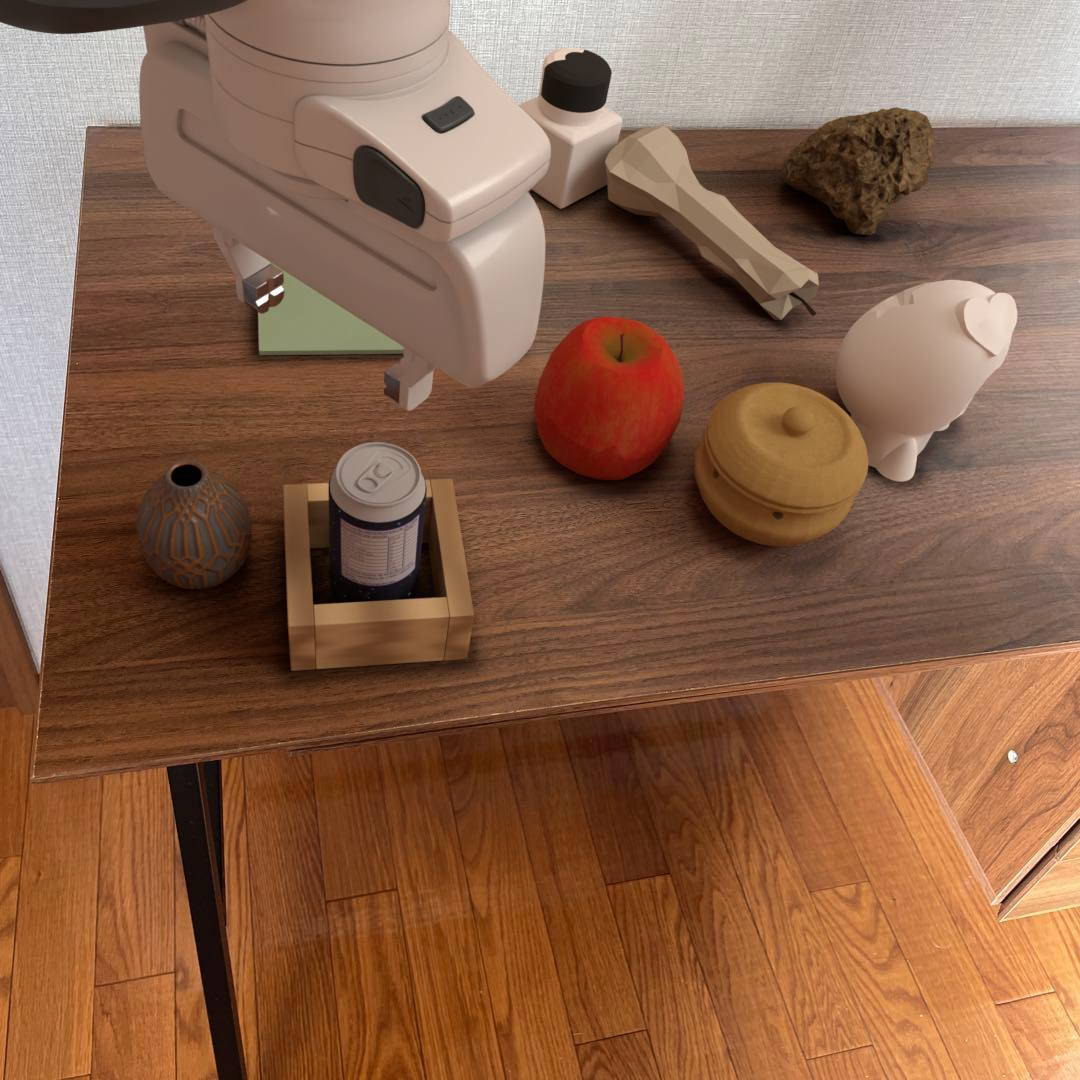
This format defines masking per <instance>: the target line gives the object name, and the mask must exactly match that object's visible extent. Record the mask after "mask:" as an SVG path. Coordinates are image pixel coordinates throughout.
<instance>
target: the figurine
mask: <svg viewBox="0 0 1080 1080" xmlns="http://www.w3.org/2000/svg"><path fill="white" fill-rule="evenodd" d="M1017 324H1018V308H1017V304H1016V301H1015V299H1014V298H1013V296H1012V295H1011V294H1009V293H1006V292H995V291H994V290H992V289H991V288H989V287H987V286H984V285H982V284H980V283H977V282H974V281H969V280H961V279H944V280H937V281H931V282H930V281H929V282H924V283H921V284H919V285H915V286H911V287H909V288H906V289H904V290H902V291H900V292H899V293H896V294H894V295H892V296H890V297H887V298H886V299H884V300H882V301H880V302H879V303H877V304H875V305H874V306H873V307H871V308H870V309H869V310H867V311H866V312H864V313H863V314H862V316H860V317H858V319H857V320H856V321H855V322H854V323H853V324H852V325H851V327H850V328H849V330H848V331H847V332H846V334H845V336H844V338H843V339H842V340H841V343H840V346H839V349H838V352H837V357H836V361H835V383H836V389H837V393H838V395H839V397H840V400H841V401H842V404H843V406H845V408H846V410H847V411H848V412H849V413H850V415H849V417H850V418H851V419H852V421H853V422H854V423H855V424H856V426H857V427H858V429H859V431H860V433H861V435H862V438H863V440H864V442H865V445H866V448H867V454H868V460H869V463H868V467H872V468H875V469H876V471H877V472H878V473H879V474H880V475H882V476H883V477H884V478H886V479H888V480H890V481H894V482H902V483H903V482H907V481H910V480H911V479H912V478H913V477H914V475H915V472H916V467H917V459H918V455H920V454H921V452H922V451H923V450H924V449H925V448H926V446H927V444H928V442H929V441H930V439H931V438H932V436H933V434H934V433H935V432H942V431H945V430H947V429H948V428H949V427H950V424H951V423H952V422H953V421H955V420H956V419H958V418H959V417H961V416H962V415H963V414H964V413H965V412H966V410H967V409H968V406H969V405H970V403H972V401H973V400H974V398H975V394H976V393H977V392H979V390H980V389H981V388H982V387H983V385H984V384H985V383H986V381H987V380H988V378H989V377H990V376H992V375H993V374H994V372H996V371H997V369H999V368H1001V367H1002V365H1003V363H1004V361H1005V360H1006V357H1007V356H1008V353H1009V350H1010V345H1011V342H1012V337H1013V333H1014V330H1015V328H1016V325H1017Z"/></svg>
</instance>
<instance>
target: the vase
mask: <svg viewBox="0 0 1080 1080" xmlns="http://www.w3.org/2000/svg"><path fill="white" fill-rule="evenodd" d="M250 513H251V512H250V510H249V507H248V504H247V503H246V501H245V499H244V497H243V495H242V494H241V492H240V491H239V489H237V487H236V486H235V485H234V483H232V481H230V480H229V479H228V478H226V477H225V476H223V475H221V474H220V473H218V472H216V471H213V470H211V469H208V468H207V467H206V466H205V465H203V464H202V463H201V462H199V461H196V460H193V459H183V460H178V461H176V462H174V463H172V464H171V465H169V467H168V468H167V469H166V471H165V473H164V474H163V475H162V476H161V477H159V478H157V479H156V480H155V481H154V482H153V483H152V484H151V485H150V486H149V487H148V489H147V490H146V492H145V493H144V495H143V496H142V499H141V501H140V504H139V507H138V510H137V516H136V521H135V522H136V524H135V525H136V527H135V529H136V530H135V531H136V539H137V542H138V545H139V548H140V551H141V553H142V556H143V558H144V560H145V561H146V562H147V564H148V566H149V567H150V568H151V570H153V572H154V573H155V574H156V575H157V576H158V577H160V578H161V579H163V580H164V581H165V582H167V583H169V584H170V585H172V586H175V587H179V588H183V589H188V590H189V589H190V590H203V589H209V588H213V587H215V586H218V585H220V584H222V583H224V582H226V581H227V580H228V579H230V578H232V577H233V576H234V575H235V574H236V573H237V572H238V571H239V570H240V568H241V567H242V566H243V564H244V562H245V560H246V559H247V556H248V554H249V551H250V547H251V543H252V532H253V527H252V519H251V518H252V517H251V514H250Z"/></svg>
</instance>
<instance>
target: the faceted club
mask: <svg viewBox="0 0 1080 1080" xmlns="http://www.w3.org/2000/svg"><path fill="white" fill-rule="evenodd" d="M605 165H606V172H607V182H608V185H607V200H608V201H609V202H611V203H613V204H615V205H616V206H618V207H619V208H621V209H623V210H625V211H627V212H629V213H631V214H634V215H637V216H647V217H648V216H649V217H659V218H664V219H666V220H667V221H668V222H669V223H670V224H671V225H672V226H674V227H675V228H676V229H677V230H678V231H680V232H681V233H682V234H683V235H684V236H685V237H686V238H688V239H689V240H690V241H691V242H692V243H693V244H695V245H696V246H697V248H698V251H699V253H700V255H701V257H702V258H704V259H705V260H707V262H710V263H711V264H712V265H714V266H715V267H717V268H719V269H720V270H721V271H723V272H725V274H727V275H729V276H730V277H732V278H733V279H735V280H736V281H737V282H738V283H739V284H740V286H742V287H743V288H744V290H745V291H746V292H748V293H749V295H750V296H751V297H752V298H753V299H754V300H755V301H756V303H758V304H759V305H760V306H761V307H762V309H764V311H765V312H766V313H767V314H768V315H769V316H770V317H771V318H772V319H773V320H774V321H775V320H776V321H780V320H783V319H784V318H785V316H786V315H788V314H789V312H790V311H791V310H793V308H795V307H797V306H799V305H801V304H803V306H804V307H805V308H806V310H807V311H808V312H809V314H810V315H811V317H814V316H815V315H817V313H816V311H815V310H814V309H813V307H811V306H810V304H808V303H807V302H809V301H810V300H813V299H815V298H816V296H817V293H818V290H819V286H820V283H819V275H818V272H816V271H813V270H812V269H810V268H808V267H807V266H805V265H804V264H802V263H800V261H798V260H796V259H795V258H793V257H791V256H790V255H788V254H787V253H785V252H784V251H783V250H780V249H779V248H777V247H776V246H775V245H773V244H772V243H771V242H770V241H769V240H768V239H767V237H765V236H764V235H763V234H762V233H761V232H760V231H759V230H758V229H757V228H755V227H754V225H753V224H752V223H751V222H750V221H748V220H747V219H746V218H745V217H744V216H743V215H742V214H741V213H740V212H739V211H738V210H737V209H736V208H735V207H734V205H733V204H732V203H731V202H730V201H729V200H728V199H727V197H726V196H725V195H722V194H719V193H716V192H713V191H710V190H708V189H706V188H705V187H704V186H703V185H701V184H700V182H699V180H698V178H697V177H696V175H695V174H694V173H695V172H694V171H693V170H692V167H691V164H690V159H689V156H688V152H687V149H686V148H685V146H684V145H683V143H682V142H681V139H680V138H679V137H678V136H677V135H676V134H675V133H674V132H673V131H672V130H670V128H668V127H667V126H666V125H665V124H662V125H655V126H649V127H643V128H641V129H639V130H637V131H636V132H634V133H632V134H630V135H628V136H626V137H625V138H624V139H622V140H621V141H619V142H618V144H617V145H616V146H615V147H614V148H613V149H612V150H611V151H610V152H609V154H608V156H607V158H606V161H605Z"/></svg>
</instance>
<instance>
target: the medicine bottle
mask: <svg viewBox="0 0 1080 1080" xmlns="http://www.w3.org/2000/svg"><path fill="white" fill-rule="evenodd" d="M612 74H613V73H612V68H611V67H610V65H609V63H608V61H607V60H606V59H605V58H604V57H602V56H600V55H599V54H598V53H595V52H593V51H590V50H587V49H585V48H580V47H562V48H557V49H555V50H553V51H551V52H549V54H547V55H546V56H545V57H544V60H543V64H542V71H541V77H540V84H539V91H538V96H535V97H534V98H530V99H529V100H527V101H523V102H522V103H520V104H518V105H519V106H520V107H521V108H522V109H523V110H524V111H525V112H526V113H527V114H528V115H529V116H530V117H531V118H532V119H533V120H534V121H535V122H536V123H537V124H538V125H539V126H540V127H541V128H542V129H543V131H544V132H545V133H546V135H547V137H548V139H549V141H550V145H551V156H550V163H549V167H548V170H547V173H546V174H545V176H544V177H543V178H542V179H541V180H540V181H539V182H538V183H537V184H536V185H535V186H534V187H533V188H532V189H531V190H530V191H533V192H534V193H535V194H536V195H538V196H540V197H541V198H543V199H545V200H546V201H548V202H549V203H550V204H552V205H553V206H554V207H556V208H558V209H559V210H561V209H565V208H566V207H568V206H570V205H573V204H574V203H576V202H578V201H579V200H581V199H584V198H585V197H587V196H589V195H591V194H593V193H594V192H596V191H598V190H600V189H602V188H604V187H606V186H608V182H607V172H606V165H605V161H606V158H607V156H608V154H609V152H610V151H611V150H612V149H613V148H614V147H615V146H616V145H617V144H618V143H619V139H620V134H621V129H622V125H623V117H622V116H621V115H619V114H617V113H616V112H615V111H612V109H610V108H608V107H606V104H607V99H608V94H609V88H610V85H611V84H610V83H611V79H612Z"/></svg>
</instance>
